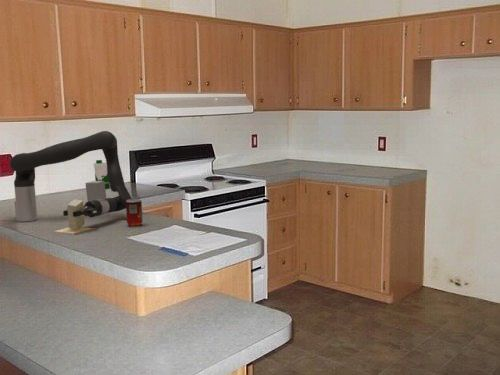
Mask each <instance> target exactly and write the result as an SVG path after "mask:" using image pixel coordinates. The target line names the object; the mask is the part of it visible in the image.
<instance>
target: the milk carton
mask: <svg viewBox="0 0 500 375" xmlns="http://www.w3.org/2000/svg"><path fill="white" fill-rule="evenodd" d="M93 167H94V178H95V180H94V181H104V183H105V190H108V189H111V188H110V184H109V180H108V174H107V163H106V162H103V160H102V159H98V160H97V159H96V160H95V163H93Z"/></svg>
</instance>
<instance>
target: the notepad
mask: <svg viewBox="0 0 500 375" xmlns="http://www.w3.org/2000/svg"><path fill="white" fill-rule="evenodd" d="M95 230H96V228H94V227H83V226H82V227H81V228H79V229H78V230H74V229H70V228H69V226H68V227H64V228H61V229H58V230H55V231H54V233H61V234H69V235H80V234H85V233H88V232H92V231H95Z"/></svg>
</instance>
